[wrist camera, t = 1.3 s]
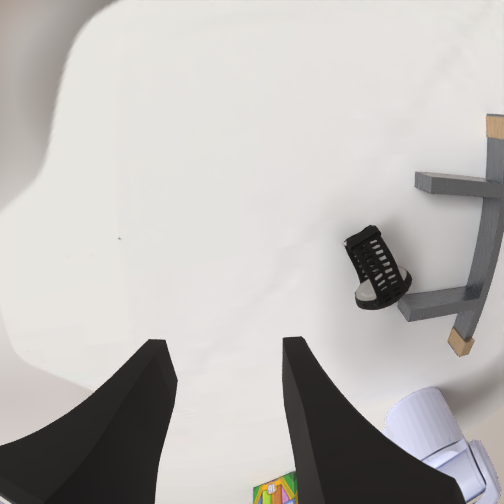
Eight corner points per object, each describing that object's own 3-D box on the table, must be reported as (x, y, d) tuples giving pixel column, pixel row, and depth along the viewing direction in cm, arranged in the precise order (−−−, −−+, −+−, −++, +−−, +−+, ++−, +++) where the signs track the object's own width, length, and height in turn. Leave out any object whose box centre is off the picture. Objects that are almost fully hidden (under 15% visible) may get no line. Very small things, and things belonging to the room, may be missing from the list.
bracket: (455, 340, 21) (467, 355, 19) (384, 355, 22) (394, 374, 19) (495, 116, 14) (516, 118, 11) (414, 95, 14) (435, 92, 12)
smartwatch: (334, 286, 19) (356, 332, 14) (329, 212, 17) (356, 242, 12) (389, 276, 19) (422, 316, 14) (390, 204, 17) (431, 229, 12)
